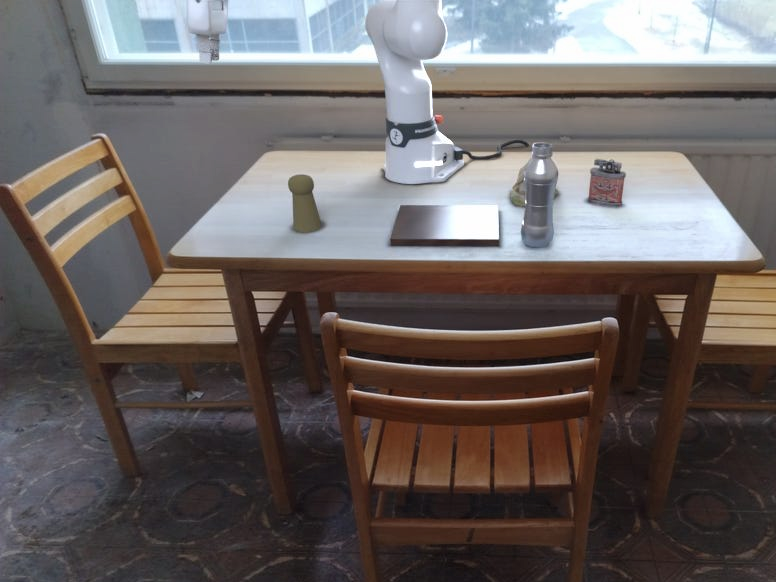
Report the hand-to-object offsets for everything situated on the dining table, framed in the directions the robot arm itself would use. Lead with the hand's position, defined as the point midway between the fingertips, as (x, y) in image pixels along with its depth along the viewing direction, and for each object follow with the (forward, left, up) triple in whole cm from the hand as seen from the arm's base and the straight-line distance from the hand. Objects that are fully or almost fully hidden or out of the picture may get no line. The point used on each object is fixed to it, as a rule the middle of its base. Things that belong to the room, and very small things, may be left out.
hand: (210, 61), depth 118 cm
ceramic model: (-50, +42, -34) cm, 73 cm away
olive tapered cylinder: (-9, +9, -34) cm, 36 cm away
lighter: (-55, +58, -34) cm, 86 cm away
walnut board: (-24, +35, -33) cm, 54 cm away
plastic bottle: (-27, +55, -34) cm, 69 cm away
